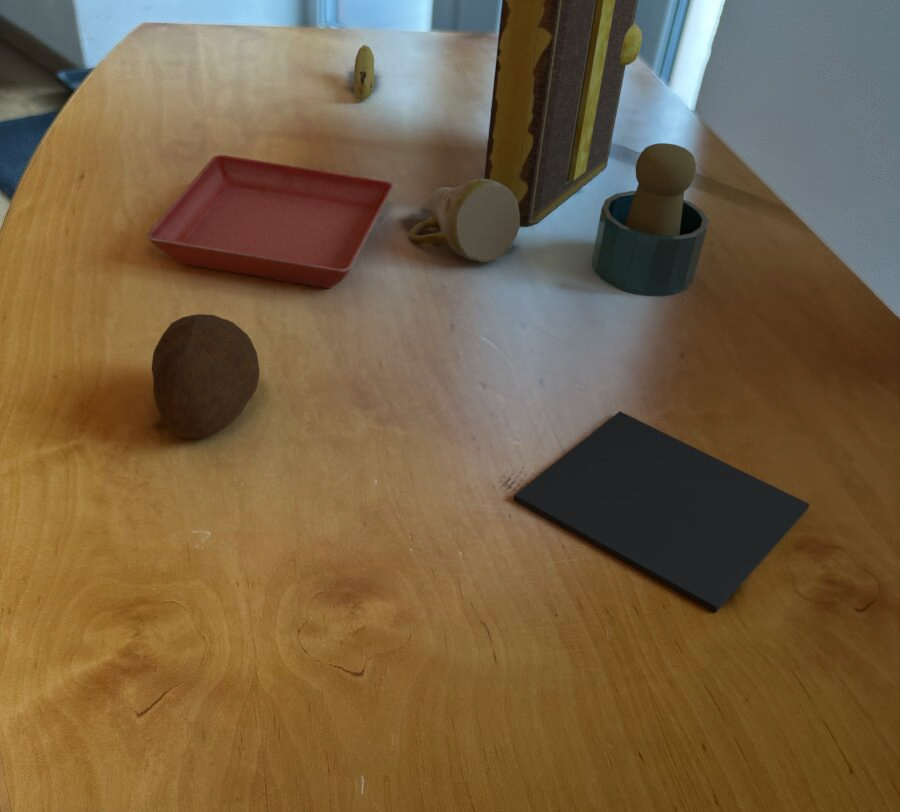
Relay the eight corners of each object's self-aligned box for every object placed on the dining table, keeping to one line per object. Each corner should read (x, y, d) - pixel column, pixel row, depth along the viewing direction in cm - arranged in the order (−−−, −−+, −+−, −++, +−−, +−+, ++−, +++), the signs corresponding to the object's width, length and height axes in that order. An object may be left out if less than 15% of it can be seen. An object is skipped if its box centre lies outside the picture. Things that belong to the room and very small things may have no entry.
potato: (144, 454, 71) (127, 356, 66) (170, 376, 78) (157, 281, 73) (250, 461, 72) (242, 364, 66) (267, 382, 79) (261, 288, 73)
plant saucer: (348, 304, 88) (349, 268, 85) (147, 271, 89) (142, 235, 87) (394, 215, 100) (396, 181, 98) (218, 186, 102) (215, 153, 99)
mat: (807, 509, 73) (810, 503, 72) (715, 613, 65) (717, 607, 64) (618, 416, 79) (619, 410, 79) (512, 500, 71) (513, 494, 71)
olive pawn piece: (659, 290, 93) (689, 169, 85) (600, 268, 95) (623, 149, 87) (685, 265, 97) (715, 148, 89) (627, 245, 99) (652, 129, 91)
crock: (711, 271, 97) (726, 215, 93) (660, 307, 92) (675, 249, 88) (625, 236, 101) (637, 181, 97) (572, 269, 95) (582, 212, 91)
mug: (461, 214, 102) (513, 142, 94) (487, 297, 99) (541, 230, 91) (396, 205, 98) (443, 129, 90) (420, 291, 95) (471, 221, 87)
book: (539, 233, 100) (582, -63, 82) (463, 208, 102) (490, -84, 85) (625, 162, 114) (679, -104, 96) (557, 141, 116) (597, -121, 99)
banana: (355, 77, 126) (355, 42, 123) (375, 79, 126) (375, 44, 123) (351, 108, 119) (352, 71, 116) (372, 109, 119) (373, 73, 116)
